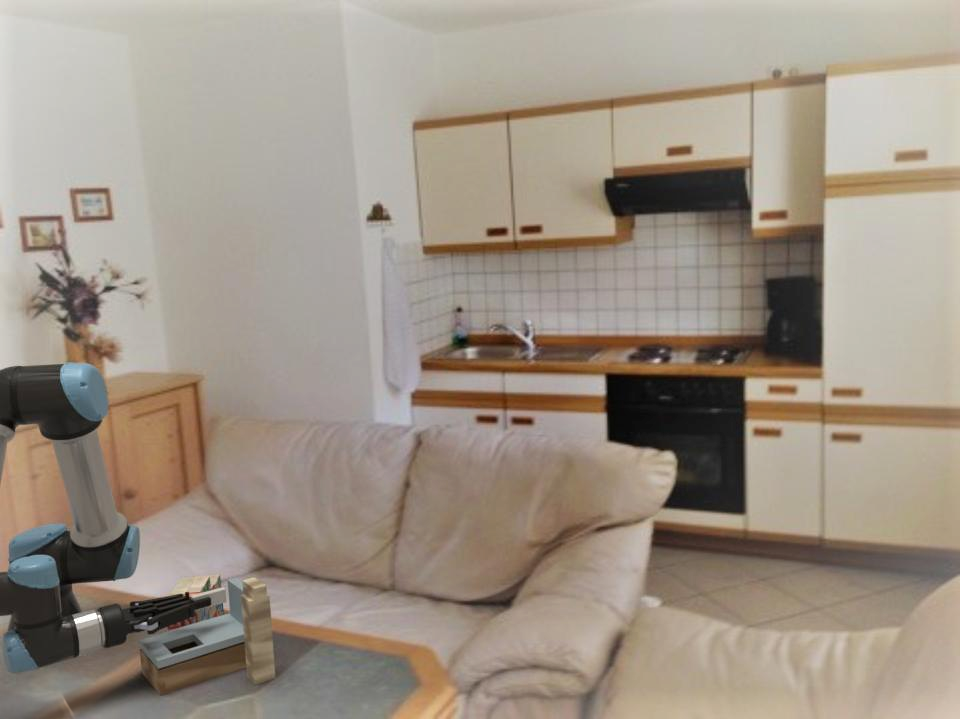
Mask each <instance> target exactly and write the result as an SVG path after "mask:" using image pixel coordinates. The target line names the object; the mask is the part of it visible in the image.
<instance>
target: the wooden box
mask: <svg viewBox="0 0 960 719" xmlns="http://www.w3.org/2000/svg"><path fill="white" fill-rule="evenodd" d="M197 646H198V645H197V644H196V643H195V642H191V643H187V644H184V645H181V646H177V647H174V648H171V649H168V650H169V651H170V652H171V653H172V654H174V653H177V652H181V651H184V650H187V649H190V648H194V647H197ZM139 657H140V667H141V673H142V674H143V676H144V677H145V678H146V680H147V681H148V682H149V683H150V685H152V687H153V688H154V690H156V692H157V693H158V694H159V696H161V697H162V696H164V695H167V694H171V693H173V692H176V691H179V690H183V689H185V688H189V687H191V686H194V685H197V684H201V683H203V682H207V681H209V680H213V679H215V678H218V677H221V676H224V675H227V674H230V673H232V672H233V673H234V672H236V671H239V670H242V669H245V668H246V656H245V643H244V642H242V643H238V644H235V645H232V646H229V647H226V648H223V649H219V650H216V651H213V652H210V653H207V654H204V655H200V656H197V657H194V658H191V659H188V660H185V661H181V662H178V663H175V664H172V665H169V666H166V667H162V668H159V669H158V668H157V667H156V666H155V664H154V663H153V662H152V661H151V660H150V659H149V657H148V656H147V655H146V654H145V653H144V652H143V651H142V649H141V648H139Z"/></svg>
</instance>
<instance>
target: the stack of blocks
mask: <svg viewBox="0 0 960 719" xmlns="http://www.w3.org/2000/svg"><path fill="white" fill-rule="evenodd" d="M222 587H223V586H222V582H221V574H207V575H195V576H192V577H182V578H180V580H179V582H178V583H177V585H176V586H175V588H174V589H173V590H172V591H171V593H170V594H168V596H172V595H177V594H183V596H185V592H189V597H191V596H192V595H196V594H199V593H203V592H207V591H210V590H214V589H218V588H222ZM222 612H224V603H222V604H218V605H215V606H211V607H208V608H204V609H201V610H197V611H195V616H194V617H191V618H189V619H186V620H183V621H181V622H178V623H176V624H173V625H171V626H168V627H167V631H170V630H173V629H177V628H180V627H184V626H187V625H191V624H194V623H197V622H201V621H204V620H208V619H211V618H215V617H218V616H221V614H222ZM222 615H223V614H222Z"/></svg>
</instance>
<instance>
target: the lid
mask: <svg viewBox="0 0 960 719" xmlns="http://www.w3.org/2000/svg"><path fill="white" fill-rule="evenodd" d="M227 589H228V602H229V613H228V612H227V613H226V614H222V615H221V616H218V617H215V618H211V619H208V620H204V621H201V622H197V623H194V624H191V625H187V626H184V627H180V628H177V629H173V630H170V631H168V630H166V631H164V632H161V633H160V632H159V633H158V634H152V635H150V636H147V637H143V638H139V639H138V646H139V649H142V651H143V652H144V653H145V654H146V655H147V656H148V657H149V659H150V660H151V661H152V662H153V663H154V664H155V666H156V667H157V668H158V669H159V668H162V667H166V666H169V665H172V664H175V663H178V662H181V661H185V660H188V659H191V658H194V657H197V656H200V655H204V654H207V653H210V652H213V651H216V650H219V649H223V648H226V647H229V646H232V645H235V644H238V643H242V642H244V630H243V617H242V604H241V595H244V593H243V583H242V579H240V578H238V577H233V578H229V579H227ZM191 642H195V643H196V644H197V645H198V646H197V647H194V648H190V649H187V650H184V651H181V652H177V653H174V654H172V653H171V652H170V651H169V650H168V649H171V648H174V647H177V646H181V645H184V644H187V643H191Z"/></svg>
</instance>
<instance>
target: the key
mask: <svg viewBox="0 0 960 719" xmlns="http://www.w3.org/2000/svg"><path fill="white" fill-rule="evenodd" d="M241 581H242V583H243V593H244V595H241V604H242V617H243V630H244V643H245V656H246V667H245V668H246V669H245V670H246V678H248V679H249V681H251V682H252V683H253V684H254V685H259V684H261V683H264V682H267V681H270V680H273V679H276V668H275V667H276V666H275V654H274V653H275V652H274V640H273V639H274V638H273V626H272V614H271V613H272V612H271V611H272V610H271V597H270V595H269V594H268V592H267V585H266V584H265V583H263V581H260V580H259V579H258V578H256V577H250V578H246V579H241Z"/></svg>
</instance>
